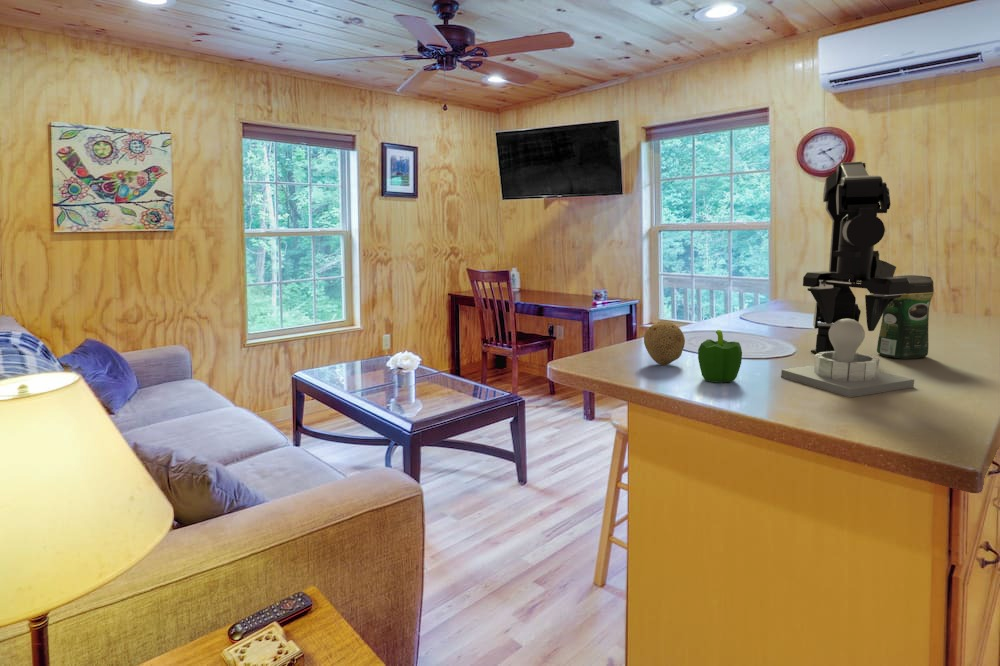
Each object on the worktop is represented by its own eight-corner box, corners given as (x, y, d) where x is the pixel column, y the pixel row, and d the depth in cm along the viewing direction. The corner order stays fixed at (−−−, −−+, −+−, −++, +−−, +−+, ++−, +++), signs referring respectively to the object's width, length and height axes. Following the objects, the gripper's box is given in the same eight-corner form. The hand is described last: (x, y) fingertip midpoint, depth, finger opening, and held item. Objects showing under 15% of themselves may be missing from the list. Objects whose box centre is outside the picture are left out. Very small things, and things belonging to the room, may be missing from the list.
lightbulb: (853, 370, 119) (858, 316, 117) (866, 378, 113) (871, 321, 111) (820, 369, 120) (825, 316, 118) (831, 377, 114) (836, 321, 112)
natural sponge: (652, 358, 140) (653, 316, 139) (690, 362, 135) (691, 319, 134) (637, 366, 133) (638, 322, 131) (676, 371, 128) (678, 325, 126)
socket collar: (842, 365, 123) (843, 349, 122) (889, 377, 113) (891, 359, 113) (802, 371, 120) (804, 354, 119) (848, 383, 110) (850, 365, 109)
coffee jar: (906, 351, 141) (914, 273, 138) (934, 358, 133) (943, 275, 130) (869, 353, 140) (876, 274, 136) (895, 360, 132) (903, 277, 129)
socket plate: (840, 368, 127) (840, 361, 126) (913, 387, 112) (914, 379, 112) (781, 376, 121) (781, 369, 121) (849, 397, 107) (850, 389, 106)
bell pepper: (736, 388, 114) (739, 337, 113) (693, 382, 119) (694, 333, 117) (744, 377, 121) (746, 329, 120) (703, 373, 126) (704, 327, 124)
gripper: (936, 245, 106) (927, 331, 108) (845, 243, 123) (839, 317, 126) (891, 247, 102) (882, 336, 105) (803, 244, 119) (798, 321, 122)
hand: (849, 327), depth 114 cm, fingers open, 9 cm apart
